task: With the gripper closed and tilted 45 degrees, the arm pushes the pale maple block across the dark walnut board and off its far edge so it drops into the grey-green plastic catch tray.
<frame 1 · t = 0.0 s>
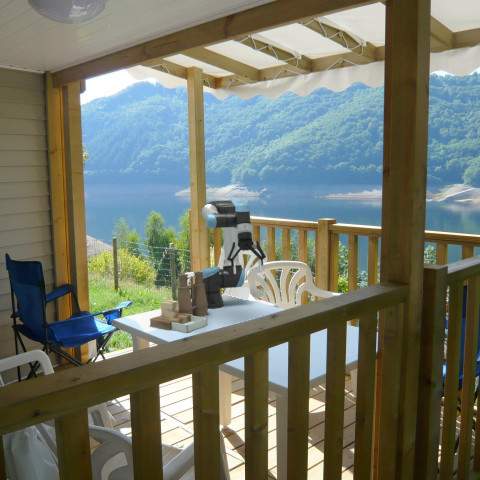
hand: (247, 273, 260), 28 cm above the table, tool tilted 20°, fingers open, 13 cm apart
board: (171, 324, 270), on the table
block: (170, 316, 270), point 4 cm above the table, touching board
binoculars: (192, 317, 285), on the table, touching board
tray: (189, 327, 262), on the table
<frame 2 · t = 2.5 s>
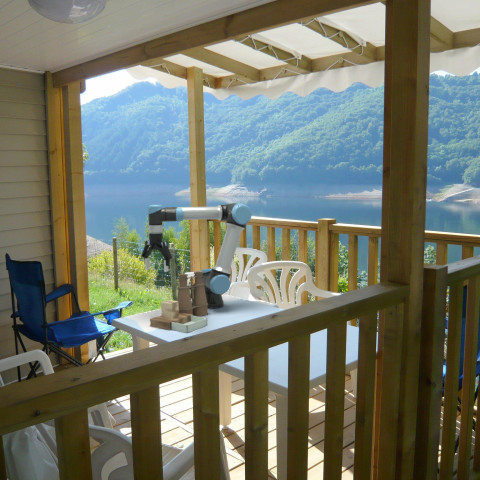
hand: (156, 270, 281), 27 cm above the table, tool pointing down, fingers open, 13 cm apart
nothing on the table moved.
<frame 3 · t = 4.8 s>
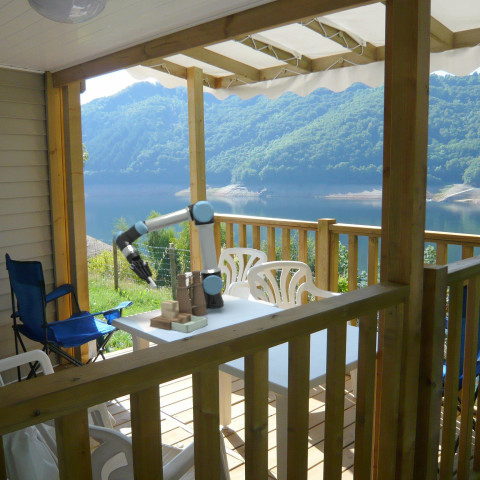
hand: (154, 287, 274), 19 cm above the table, tool tilted 45°, fingers closed
binoculars: (191, 316, 285), on the table, touching arm, board
everything else where it was.
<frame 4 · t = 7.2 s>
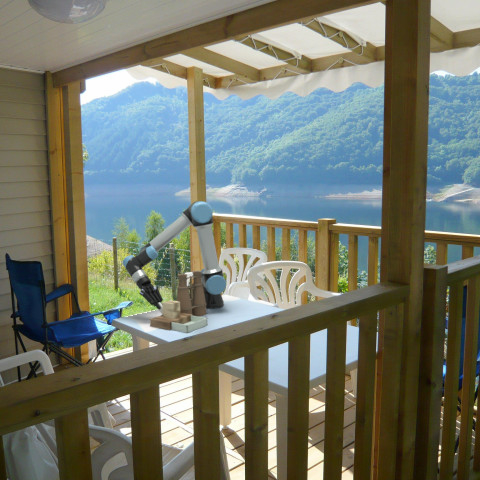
hand: (164, 313, 271), 5 cm above the table, tool tilted 45°, fingers closed
block: (171, 316, 269), point 4 cm above the table, touching gripper
binoculars: (191, 317, 285), on the table, touching board
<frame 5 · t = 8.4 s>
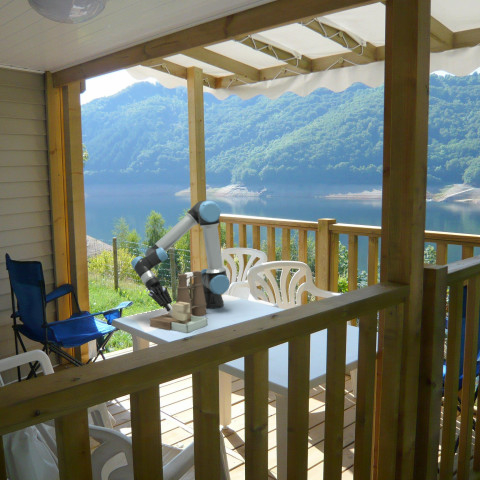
hand: (174, 314, 267), 5 cm above the table, tool tilted 45°, fingers closed
block: (181, 318, 265), point 4 cm above the table
everything else where it was.
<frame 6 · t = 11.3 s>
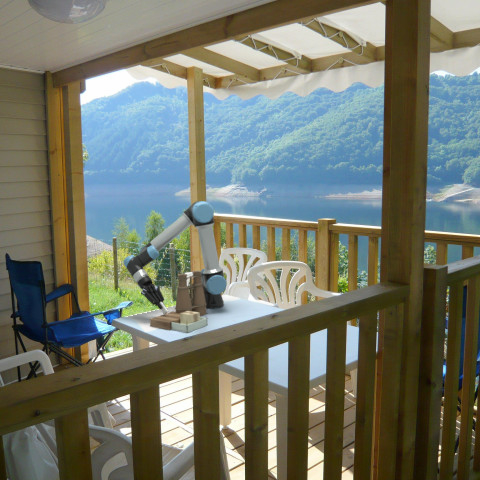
hand: (166, 312, 271), 6 cm above the table, tool tilted 45°, fingers closed
block: (184, 318, 264), point 4 cm above the table, tilted 90°, touching tray
everything else where it was.
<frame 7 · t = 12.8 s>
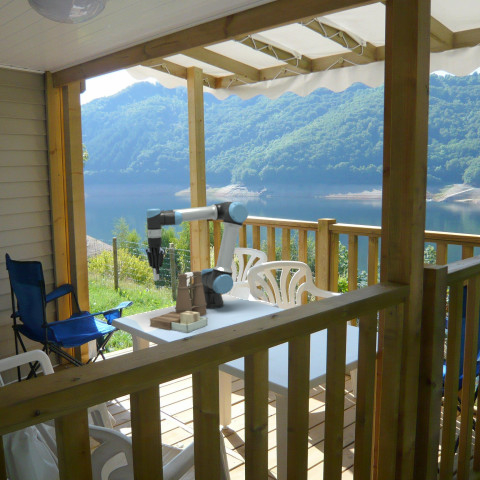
hand: (156, 279, 277), 22 cm above the table, tool pointing down, fingers closed
nothing on the table moved.
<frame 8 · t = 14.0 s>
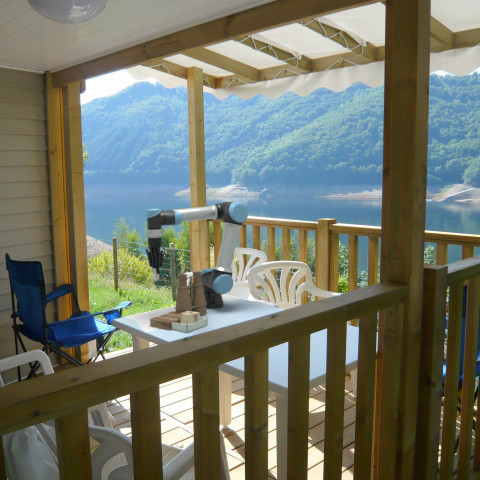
hand: (156, 279, 277), 22 cm above the table, tool pointing down, fingers closed
nothing on the table moved.
at the end: block inside the target area (3.9 cm from its centre), point 4.3 cm above the table; block touching tray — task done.
